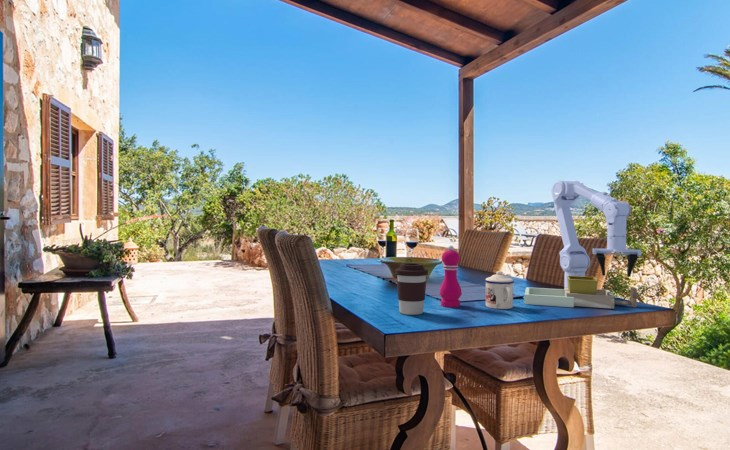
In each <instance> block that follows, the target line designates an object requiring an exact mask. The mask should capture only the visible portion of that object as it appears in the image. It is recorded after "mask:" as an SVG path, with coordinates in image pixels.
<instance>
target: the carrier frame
mask: <svg viewBox="0 0 730 450" xmlns="http://www.w3.org/2000/svg"><path fill="white" fill-rule="evenodd" d="M629 290H630V294H629V295H630V296H629V297H630V298H629V301H619V300H615V295H614V294H613V293H612V292H611V291H610V290H609V289H602V288H601V289H600V288H597V290H596V295H593V294H576V293H570V292H569V290H568V288H567V287H565V297H574V307H584V308H596V309H597V308H600V309H615V305H622V306H630V307H632V308H637V306H638V305H637V303H638V300H637V299H638V298H637V297H638V292H637V291H638V288H636V287H633V286H630V288H629Z"/></svg>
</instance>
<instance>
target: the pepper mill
mask: <svg viewBox="0 0 730 450" xmlns="http://www.w3.org/2000/svg"><path fill="white" fill-rule="evenodd" d="M447 249H448V250H445V251H444V252H443V253H442V255H441V262H442V263H443V265H442V269H443V271H444V278H443V281H442V283H441V286H440V288H439V295H440V297H441V298H442V299H441V300H440V306H442V307H445V308H459V307H461V300H460V299H459V298H461V296H462V287H461V285H460V283H459V281H458V273H457V272H458V270H459V265H458V264H459V262H460V260H461V256H460V254H459V252H458V251H456V250H454V246H453V245H449V246H448V247H447Z"/></svg>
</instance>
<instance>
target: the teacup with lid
mask: <svg viewBox="0 0 730 450" xmlns="http://www.w3.org/2000/svg"><path fill="white" fill-rule="evenodd" d="M503 273H504V272H503V271H501V270H498V271H496V274H492V275H491V276H489V277H486V278H485V280H484V282H485V306H486V307H487V308H489V309H495V310H508V309H509V310H510V309H512V308H513V307H514V283H515V281H514V279H513V278H510V277H508V276H507V275H505V274H503Z"/></svg>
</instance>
